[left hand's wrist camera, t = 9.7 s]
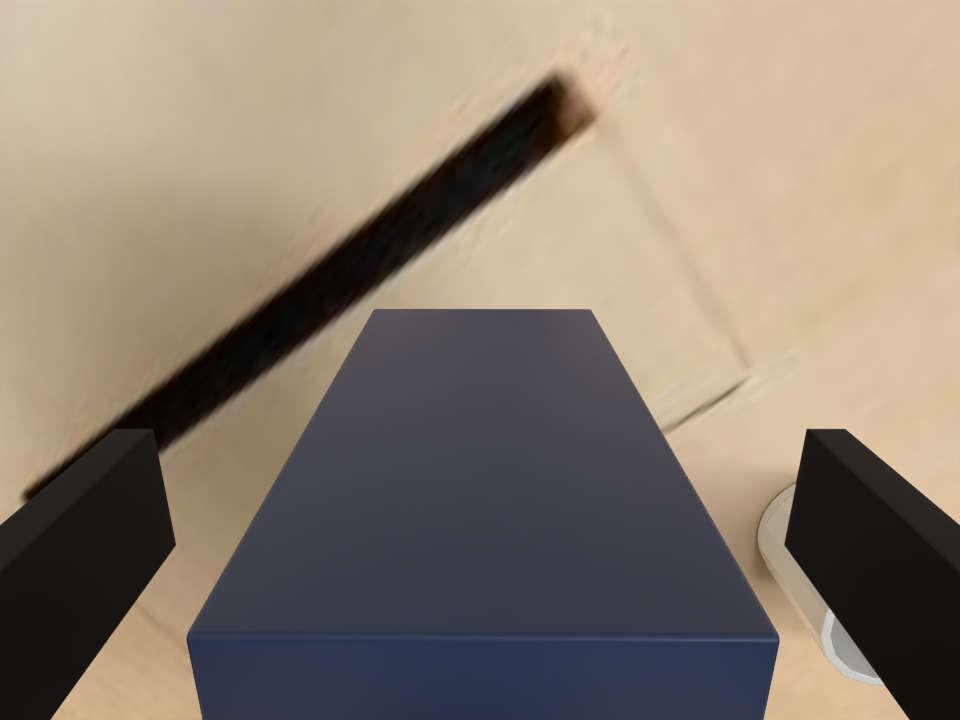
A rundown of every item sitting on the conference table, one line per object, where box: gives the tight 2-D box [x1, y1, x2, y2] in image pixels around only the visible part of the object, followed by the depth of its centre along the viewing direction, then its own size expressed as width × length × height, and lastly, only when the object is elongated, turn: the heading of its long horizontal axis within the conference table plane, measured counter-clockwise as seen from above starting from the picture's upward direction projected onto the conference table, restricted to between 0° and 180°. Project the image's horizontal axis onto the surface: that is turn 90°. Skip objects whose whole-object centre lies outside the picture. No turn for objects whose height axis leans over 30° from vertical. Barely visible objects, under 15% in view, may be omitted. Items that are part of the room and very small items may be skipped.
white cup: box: [758, 483, 884, 685], centre depth 29 cm, size 6×6×6 cm
